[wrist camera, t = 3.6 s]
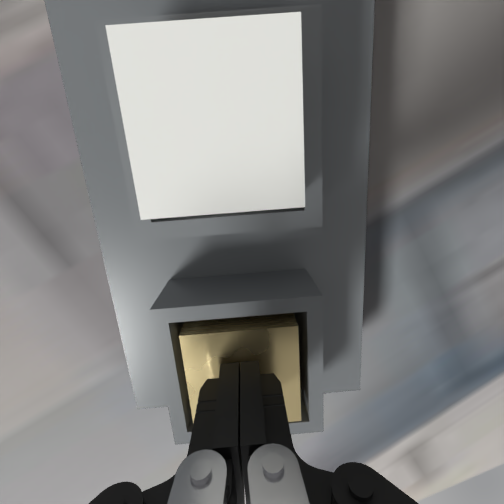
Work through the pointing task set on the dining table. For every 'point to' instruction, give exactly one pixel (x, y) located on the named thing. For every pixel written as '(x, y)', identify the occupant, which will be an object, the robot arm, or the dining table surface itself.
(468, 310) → the dining table surface
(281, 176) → the white square block
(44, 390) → the dining table surface
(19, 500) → the dining table surface
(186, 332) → the gold square block
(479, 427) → the dining table surface
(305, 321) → the console
